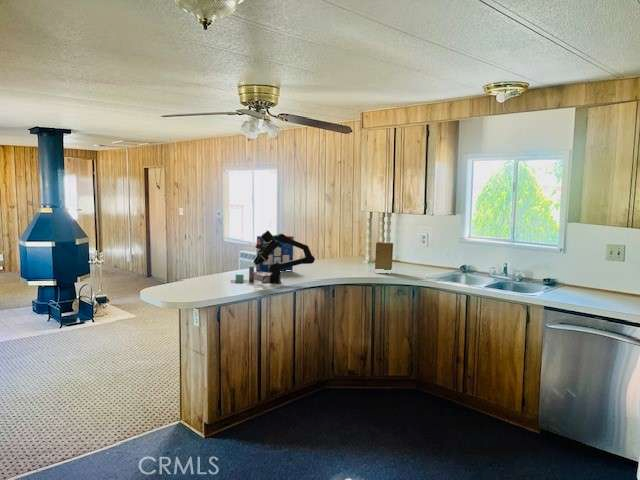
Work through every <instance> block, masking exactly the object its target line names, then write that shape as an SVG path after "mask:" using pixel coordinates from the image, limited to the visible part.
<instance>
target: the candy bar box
mask: <svg viewBox="0 0 640 480" xmlns="http://www.w3.org/2000/svg"><path fill="white" fill-rule="evenodd" d="M271 274H272V273H271V272H269V273H266V272H256V271H254V280H258V281H259V282H261V283H270V276H271Z"/></svg>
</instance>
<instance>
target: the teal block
mask: <svg viewBox="0 0 640 480" xmlns="http://www.w3.org/2000/svg"><path fill="white" fill-rule="evenodd" d="M235 280H236V282H243V280H245V279H244V273H235Z"/></svg>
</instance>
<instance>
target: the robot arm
mask: <svg viewBox="0 0 640 480" xmlns="http://www.w3.org/2000/svg"><path fill="white" fill-rule="evenodd" d="M260 236H261V238H262V239H263V240H264V241H265V242H266V243H267V242H268V243H269V242H270V241H271V240H272V241H271V242H270V243H269V244H268V245H266V246H263V244H259V243H257V242H256V245H255V248H256V249H257V248H258V249H260V250H258V252H259V253H258V252H257V251H256V257H255V259H254V260H253V261H252V262H253V263H254V265H255V266H256V265H257V264H259V263H262V262H264V261H265V260H266V261H267V260H268V259H269V257H268V256H269V255H270V254H271V253H272V252H273V251H274V250H275V249H276V248H277V247H278V246H279V247H280V248H281V243H279V242H282V243H287V244H290V245H293V247H296V248H298V249H301V250H302V251H303V253H304V256H302V257H299V258H297V259H293V260H291V261H287V262H283V263H279V262H278V261H276V262H272V263H271V264H270V265H269V267H268V268H269V270H270V271H271V272H270V274H271V276H270V282H269V284H273V285H275V284H277V285H279V284H281V283H282V281H281V279H282V278H281V276H282V275H281V273H282V272H280V271H279V270H281V269H283V268H287V267H291V266H293V267H294V266H299V265H311V264H314V262H316V261H315V256H314V255H312V252H311V250H310V248H309V245H308V244H303V243H302V242H299V241H296V240H295V239H294V240H292V239H290V238H288V237H287V236H288V235H286V234H284V233H282V232H281V233H280V232H279V233H278V234H274V235H273V234H272V233H271V232H270V230H266V231H265V232H263V233H262V234H261V235H260ZM273 238H274V239H275V240H278V241H279V242H278V241H274V239H273ZM257 253H258V255H257Z"/></svg>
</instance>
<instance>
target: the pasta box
mask: <svg viewBox="0 0 640 480" xmlns="http://www.w3.org/2000/svg"><path fill="white" fill-rule="evenodd" d="M286 236H287V237H288V238H290V239H292V240H295V239H294V238H295V236H292V235H286ZM273 239H274V238H273ZM271 241H272V240H271ZM271 241H270V242H271ZM274 241H278V240H275V239H274ZM270 242H269V243H270ZM278 242H279V241H278ZM257 243H259V244H263V246H266V245H268V244H269V243H268V242H267V243H266V242H265V241H264V240H263V239H262V238H261V235H257V236H256V244H257ZM279 243H281V248H280V247H279V246H278V247H277V248H276V249H275V250H274V251H273V252H272V253H271V254H270V255H269V256H268V257H269V259H268V260H267V261H266V260H265V261H264V262H262V263H259V264H257V265H255V267H256V268H255V272H256V271H257V272H269V273H272V272H271V271H270V270H269V268H268V267H269V265H270V264H271V263H272V262H276V261H278V262H279V263H283V262H287V261H291V260H294V246H293V245H290V244H287V243H282V242H279ZM258 250H260V249H258V248H256V256H257V255H258V253H259V252H258ZM257 252H258V253H257ZM293 267H294V266H291V267H287V268H283V269H281V270H279V271H286V270H293Z"/></svg>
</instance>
